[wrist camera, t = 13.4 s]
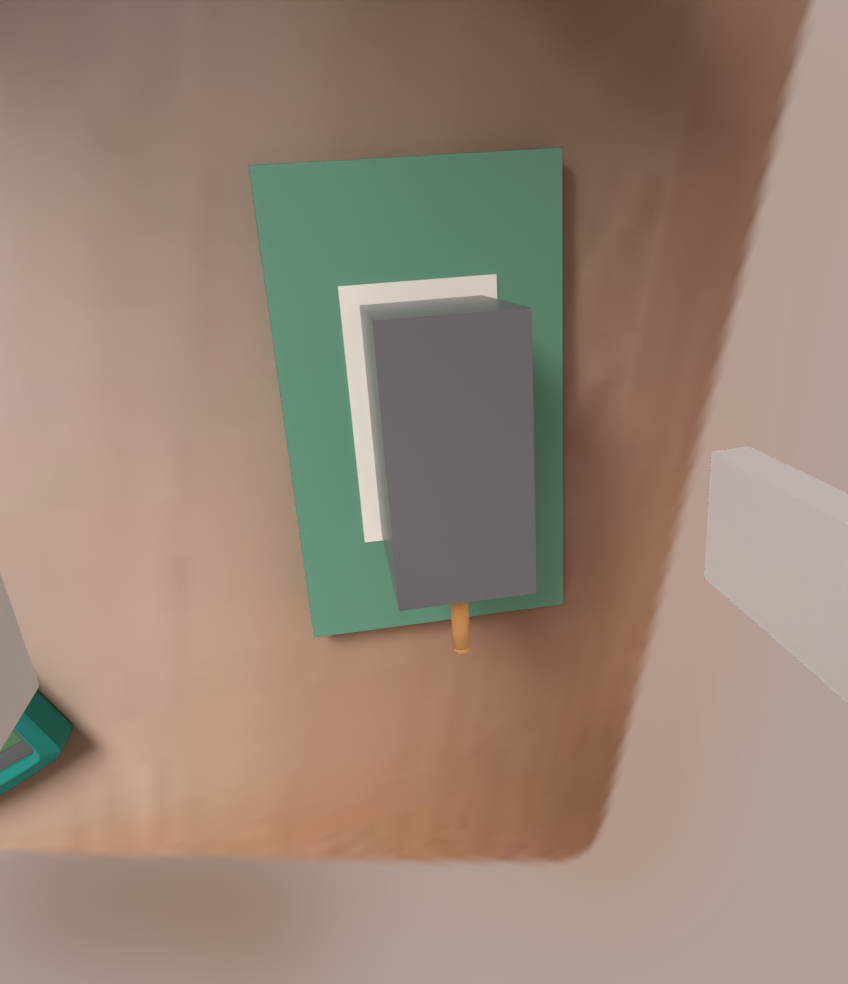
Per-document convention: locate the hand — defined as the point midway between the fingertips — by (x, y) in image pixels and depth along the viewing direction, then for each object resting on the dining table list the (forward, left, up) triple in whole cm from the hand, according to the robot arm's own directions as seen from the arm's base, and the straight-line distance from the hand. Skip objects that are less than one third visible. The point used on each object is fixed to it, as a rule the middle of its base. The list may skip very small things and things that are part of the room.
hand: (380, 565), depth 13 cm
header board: (+1, +3, -18) cm, 19 cm away
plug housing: (+3, +3, -17) cm, 18 cm away
